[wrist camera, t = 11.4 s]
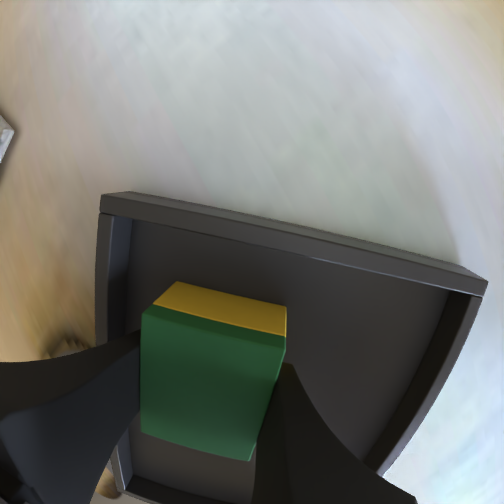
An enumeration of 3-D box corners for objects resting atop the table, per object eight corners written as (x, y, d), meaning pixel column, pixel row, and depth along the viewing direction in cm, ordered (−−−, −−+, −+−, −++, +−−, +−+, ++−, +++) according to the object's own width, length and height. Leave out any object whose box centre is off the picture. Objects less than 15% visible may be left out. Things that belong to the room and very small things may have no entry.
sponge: (257, 410, 12) (249, 462, 9) (166, 386, 12) (140, 432, 9) (286, 305, 11) (286, 349, 8) (176, 280, 11) (140, 313, 8)
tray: (327, 511, 14) (328, 534, 12) (128, 470, 15) (117, 491, 13) (462, 266, 10) (489, 281, 8) (129, 191, 11) (100, 194, 9)
